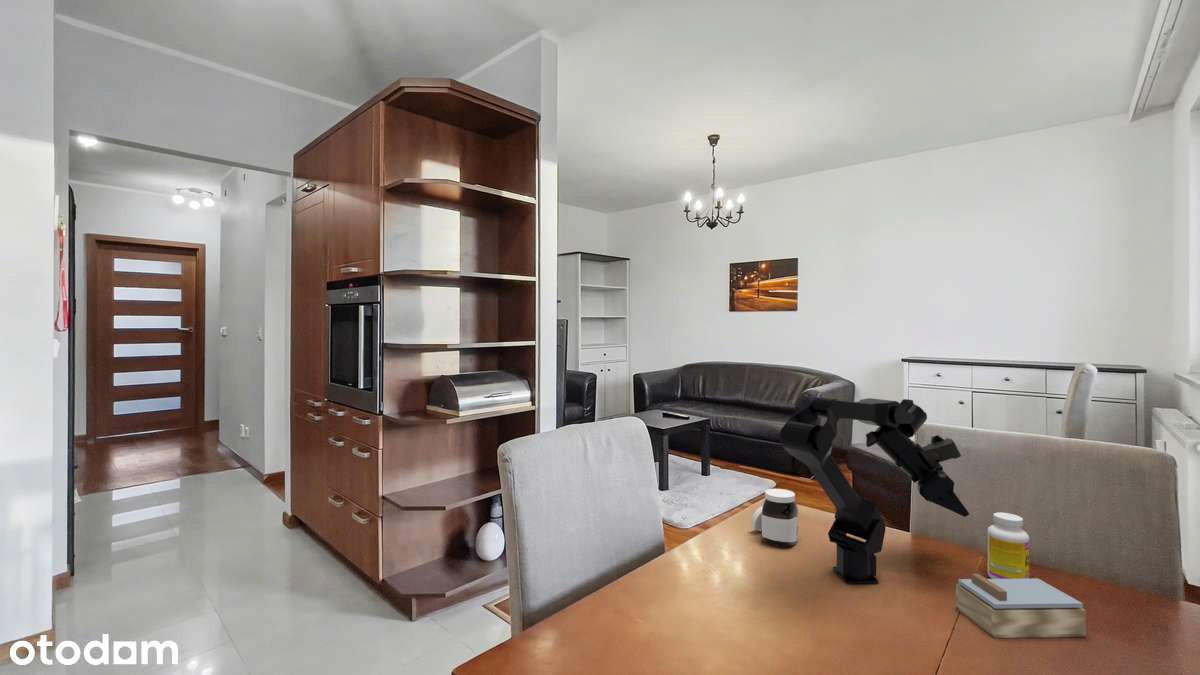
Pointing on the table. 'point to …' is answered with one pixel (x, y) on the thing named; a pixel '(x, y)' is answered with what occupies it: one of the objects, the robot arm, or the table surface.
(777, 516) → the spread jar
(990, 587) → the lid
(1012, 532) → the supplement bottle
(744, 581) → the table surface
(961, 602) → the wooden box
